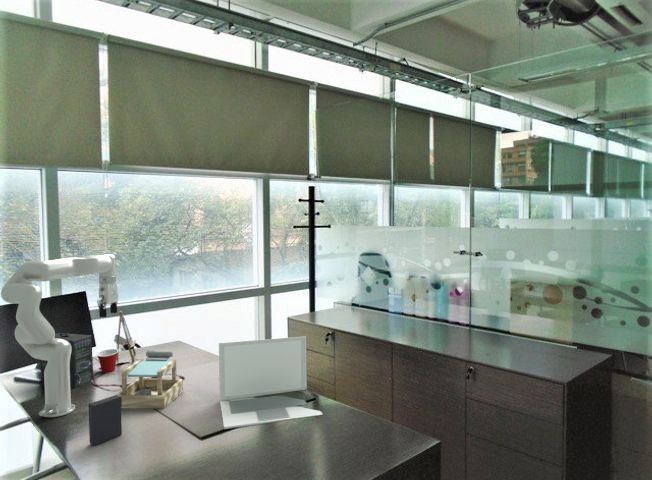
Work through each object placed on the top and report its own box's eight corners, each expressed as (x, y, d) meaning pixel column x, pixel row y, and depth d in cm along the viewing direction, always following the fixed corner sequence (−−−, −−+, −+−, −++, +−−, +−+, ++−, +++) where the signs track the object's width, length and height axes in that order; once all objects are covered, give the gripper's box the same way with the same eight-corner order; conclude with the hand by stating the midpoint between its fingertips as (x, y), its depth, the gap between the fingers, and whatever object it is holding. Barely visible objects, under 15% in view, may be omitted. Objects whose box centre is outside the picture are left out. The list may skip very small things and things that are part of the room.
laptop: (224, 431, 181) (222, 361, 180) (219, 403, 209) (218, 342, 208) (322, 418, 192) (322, 352, 191) (306, 393, 220) (305, 335, 219)
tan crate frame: (164, 410, 201) (163, 373, 201) (114, 409, 203) (113, 372, 202) (183, 391, 223) (182, 358, 223) (138, 390, 225) (137, 357, 224)
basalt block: (151, 400, 209) (145, 405, 203) (140, 400, 210) (134, 405, 204) (151, 389, 209) (145, 394, 203) (140, 389, 209) (134, 394, 203)
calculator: (116, 432, 181) (115, 394, 180) (122, 435, 178) (121, 396, 178) (88, 443, 172) (87, 403, 172) (94, 446, 170) (93, 406, 169)
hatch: (158, 377, 205) (157, 368, 205) (127, 376, 206) (126, 368, 206) (175, 357, 224) (174, 350, 224) (147, 357, 225) (146, 349, 225)
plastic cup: (92, 374, 248) (91, 352, 247) (111, 369, 257) (110, 347, 257) (104, 378, 242) (103, 355, 242) (123, 372, 251) (122, 350, 251)
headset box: (40, 384, 234) (38, 333, 233) (60, 377, 245) (59, 328, 244) (75, 389, 226) (73, 337, 225) (94, 381, 238) (93, 331, 237)
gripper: (105, 282, 217) (106, 318, 217) (124, 277, 234) (124, 311, 235) (89, 282, 217) (91, 318, 218) (109, 277, 234) (110, 311, 235)
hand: (108, 314), depth 226 cm, fingers open, 9 cm apart
